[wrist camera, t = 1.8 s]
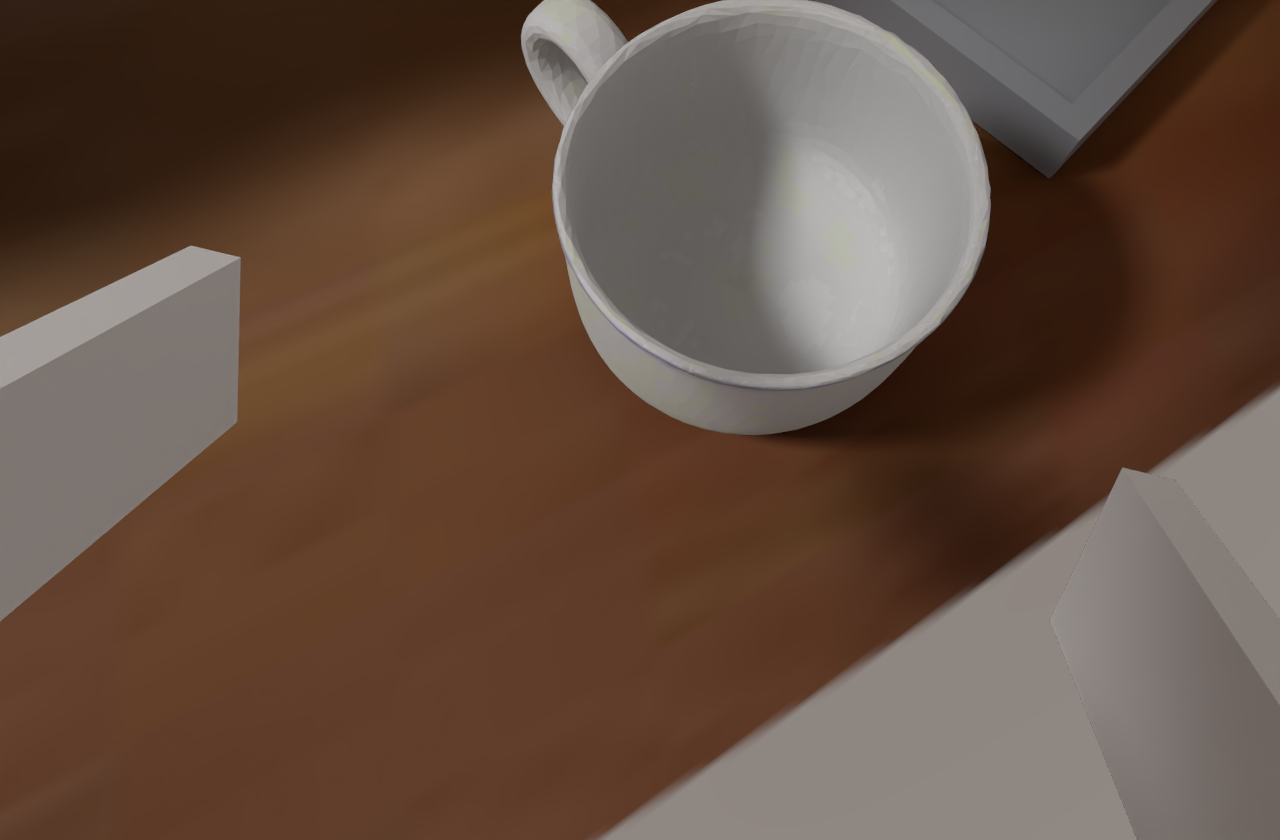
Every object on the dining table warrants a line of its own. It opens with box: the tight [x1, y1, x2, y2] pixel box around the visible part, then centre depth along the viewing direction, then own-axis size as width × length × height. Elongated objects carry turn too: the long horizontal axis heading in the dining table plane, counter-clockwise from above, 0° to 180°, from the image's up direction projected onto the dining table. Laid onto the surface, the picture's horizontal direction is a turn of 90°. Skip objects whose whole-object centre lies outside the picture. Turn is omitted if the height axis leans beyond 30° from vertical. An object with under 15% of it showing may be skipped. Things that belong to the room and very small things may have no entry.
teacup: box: [521, 0, 991, 435], centre depth 28 cm, size 14×11×8 cm
